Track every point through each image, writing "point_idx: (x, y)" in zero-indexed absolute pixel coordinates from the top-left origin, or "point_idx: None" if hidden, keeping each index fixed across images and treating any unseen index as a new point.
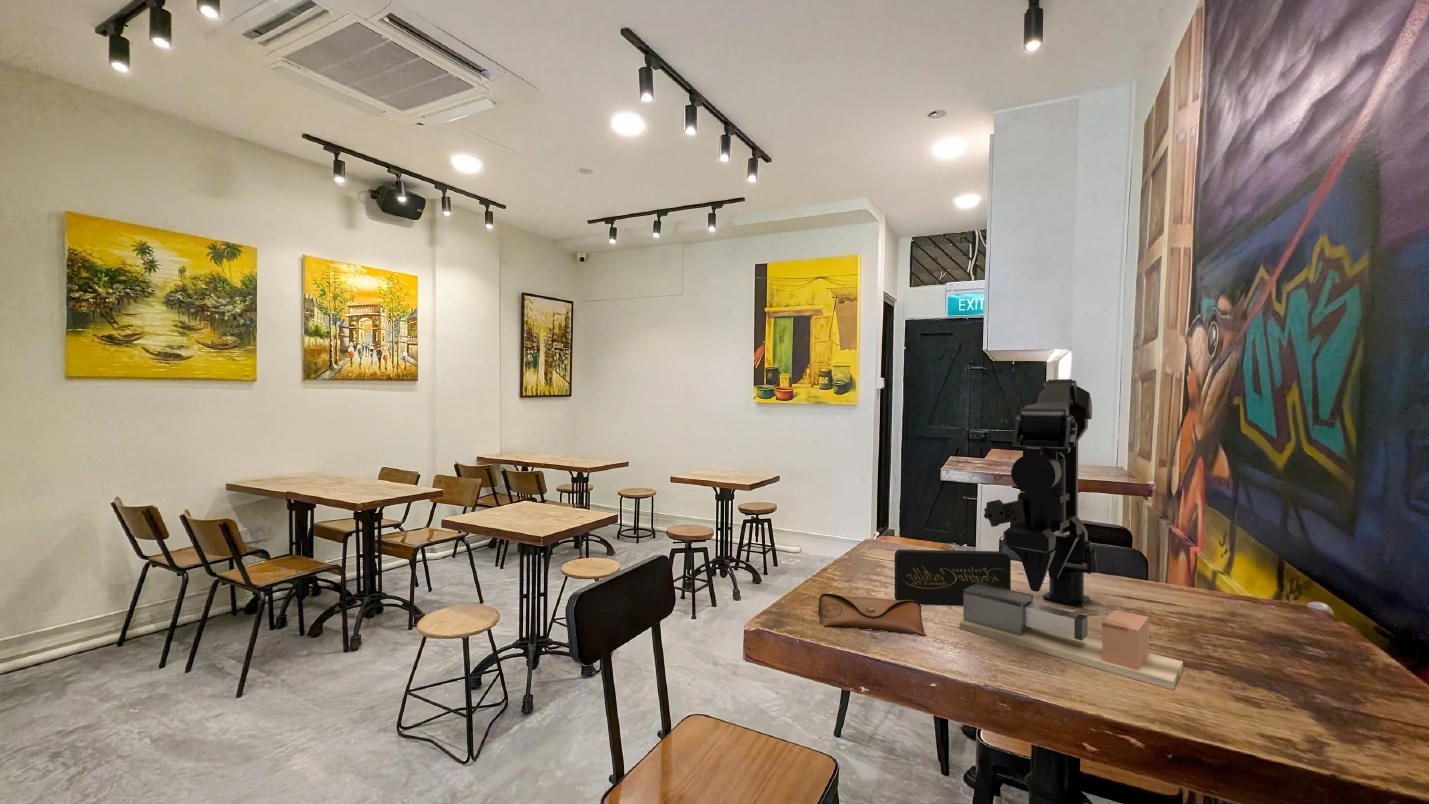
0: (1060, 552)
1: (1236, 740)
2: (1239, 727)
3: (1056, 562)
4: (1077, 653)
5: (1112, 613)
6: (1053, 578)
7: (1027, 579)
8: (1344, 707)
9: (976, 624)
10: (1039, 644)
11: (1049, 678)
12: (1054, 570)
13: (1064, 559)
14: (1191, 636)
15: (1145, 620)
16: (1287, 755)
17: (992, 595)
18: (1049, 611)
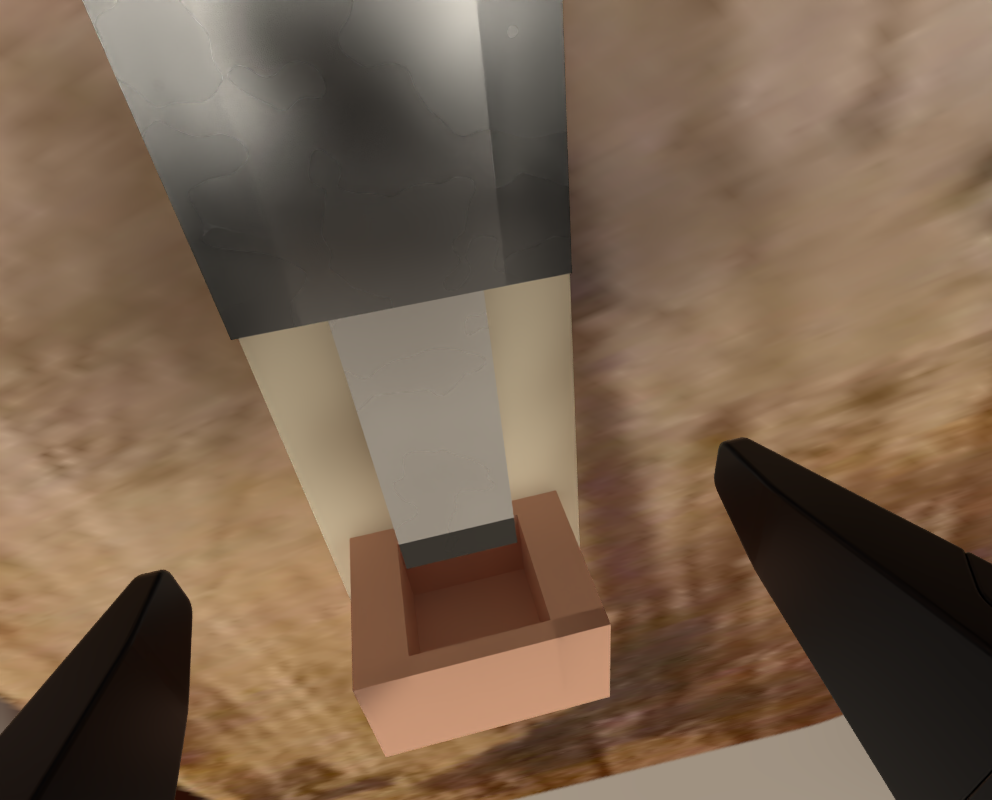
0: (914, 755)
1: (220, 765)
2: (299, 745)
3: (819, 615)
4: (325, 475)
5: (534, 649)
6: (719, 465)
7: (54, 673)
8: (603, 739)
9: None
10: (250, 349)
11: (10, 492)
12: (761, 531)
13: (842, 700)
14: (900, 501)
15: (548, 712)
16: (255, 796)
17: (149, 22)
18: (397, 431)
